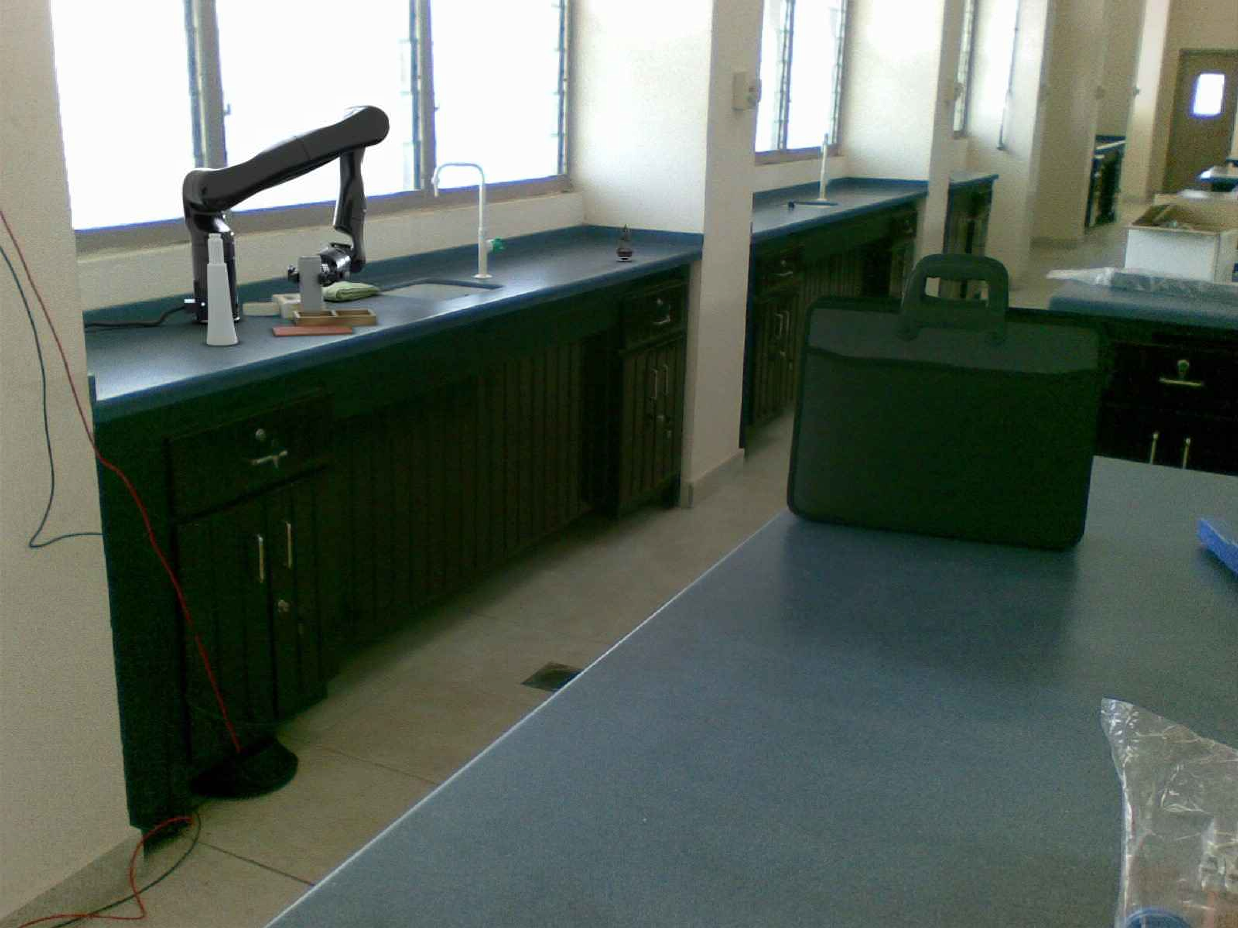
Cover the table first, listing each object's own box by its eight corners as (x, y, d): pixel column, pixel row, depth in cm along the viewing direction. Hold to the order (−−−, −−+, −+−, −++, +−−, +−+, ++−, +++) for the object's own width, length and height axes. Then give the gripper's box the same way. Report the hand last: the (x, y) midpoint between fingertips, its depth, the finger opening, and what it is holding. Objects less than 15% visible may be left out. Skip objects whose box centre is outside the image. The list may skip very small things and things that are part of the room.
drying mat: (275, 336, 253) (275, 334, 253) (272, 329, 261) (272, 327, 261) (352, 333, 259) (352, 332, 258) (347, 326, 267) (347, 324, 267)
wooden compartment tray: (297, 327, 264) (297, 317, 263) (294, 320, 272) (293, 310, 272) (376, 325, 270) (376, 315, 269) (370, 318, 278) (370, 308, 277)
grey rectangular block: (318, 314, 256) (315, 258, 253) (297, 313, 257) (293, 256, 254) (327, 310, 261) (324, 255, 257) (307, 309, 262) (303, 254, 258)
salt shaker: (636, 261, 398) (637, 224, 394) (627, 262, 393) (628, 225, 390) (621, 259, 401) (622, 223, 397) (612, 261, 396) (613, 224, 393)
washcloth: (382, 294, 313) (381, 282, 312) (338, 303, 298) (338, 290, 297) (342, 290, 318) (341, 278, 318) (297, 298, 303) (296, 285, 302)
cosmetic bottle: (243, 343, 245) (236, 234, 239) (216, 347, 241) (208, 236, 234) (227, 339, 249) (220, 231, 243) (200, 342, 245) (192, 233, 238)
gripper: (294, 250, 269) (272, 260, 253) (357, 251, 269) (340, 262, 253) (295, 283, 272) (274, 295, 255) (359, 285, 272) (342, 297, 255)
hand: (307, 279), depth 254 cm, fingers closed on grey rectangular block, 5 cm apart
